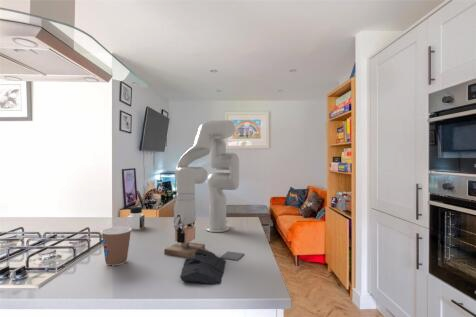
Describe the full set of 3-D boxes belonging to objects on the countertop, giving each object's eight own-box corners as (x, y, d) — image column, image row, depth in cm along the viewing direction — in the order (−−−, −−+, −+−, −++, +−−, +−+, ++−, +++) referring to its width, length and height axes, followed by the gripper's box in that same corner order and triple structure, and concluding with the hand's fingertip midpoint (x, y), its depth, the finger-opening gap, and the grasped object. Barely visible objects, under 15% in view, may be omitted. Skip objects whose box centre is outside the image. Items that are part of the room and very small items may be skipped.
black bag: (171, 286, 82) (172, 270, 82) (186, 260, 104) (187, 247, 104) (222, 287, 81) (222, 271, 82) (226, 260, 103) (226, 248, 104)
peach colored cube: (183, 237, 116) (183, 225, 116) (195, 238, 114) (195, 226, 114) (175, 241, 110) (175, 228, 111) (187, 242, 108) (187, 230, 108)
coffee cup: (101, 259, 102) (102, 227, 102) (130, 256, 106) (131, 225, 106) (99, 269, 93) (100, 234, 93) (131, 265, 97) (132, 231, 97)
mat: (227, 252, 112) (227, 251, 112) (244, 254, 109) (244, 253, 109) (220, 258, 104) (220, 257, 104) (237, 260, 102) (237, 259, 102)
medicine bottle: (139, 229, 148) (140, 207, 148) (126, 229, 148) (127, 207, 148) (144, 226, 155) (144, 205, 155) (132, 226, 155) (132, 205, 155)
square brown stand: (180, 245, 120) (180, 225, 120) (204, 248, 116) (204, 227, 116) (164, 254, 109) (164, 231, 109) (190, 258, 104) (190, 234, 104)
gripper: (188, 194, 122) (188, 234, 122) (165, 199, 106) (165, 245, 105) (203, 195, 119) (203, 236, 119) (182, 200, 103) (181, 247, 103)
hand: (185, 239), depth 112 cm, fingers closed on peach colored cube, 6 cm apart
